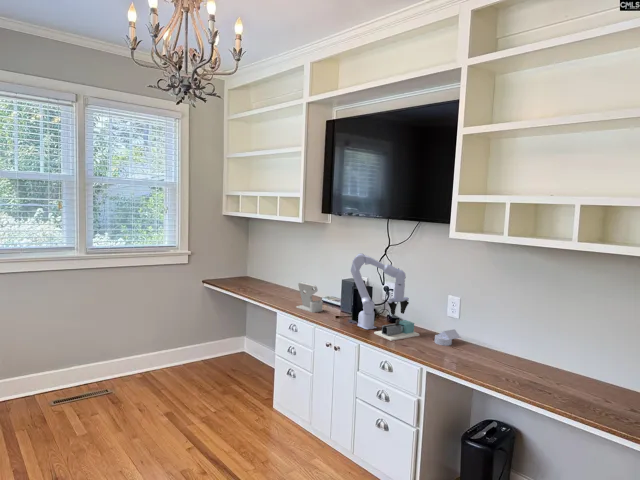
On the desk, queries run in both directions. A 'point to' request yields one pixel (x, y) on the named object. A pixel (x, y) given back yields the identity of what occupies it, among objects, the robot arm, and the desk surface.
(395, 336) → the base board
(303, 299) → the phone holder
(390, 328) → the grey rail guide
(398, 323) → the bar
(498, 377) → the desk surface
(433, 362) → the desk surface
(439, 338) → the wedge on round base
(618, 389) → the desk surface
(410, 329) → the socket
